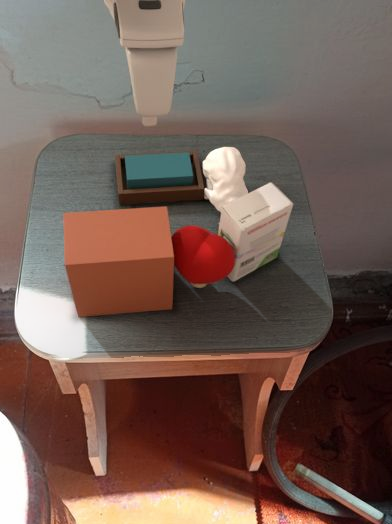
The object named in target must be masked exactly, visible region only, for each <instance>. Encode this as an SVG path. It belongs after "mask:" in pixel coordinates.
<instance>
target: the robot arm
mask: <svg viewBox="0 0 392 524" xmlns="http://www.w3.org/2000/svg"><path fill="white" fill-rule="evenodd" d="M103 3H104V5H105V6H106V7H107V9H108V10H109V11H108V12H109V13H110V16H111V17H112V19H113V21H114V26H115V28H116V32H117V36H118V39H119V43H120V46H121V47H122V48H124V50H125V53H126V54H125V55H126V60H127V65H128V71H129V78H130V84H131V89H132V96H133V102H134V107H135V111H136V114H137V116H139V117H140V119H141V125H143V127H154V126H156V125H157V124H158V117H165V116H167V115H169V113H170V111H171V108H172V103H173V95H174V88H175V80H176V73H177V72H176V71H177V59H178V47H182V46H183V45H184V40H185V16H184V15H185V14H184V11H185V4H186V0H103Z"/></svg>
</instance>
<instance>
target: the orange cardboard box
mask: <svg viewBox="0 0 392 524" xmlns="http://www.w3.org/2000/svg"><path fill="white" fill-rule="evenodd" d="M168 210H169V209H168V206H151V207H137V208H135V207H134V208H122V209H121V208H120V209H105V210H103V209H102V210H89V211H74V212H73V211H72V212H63V213H62V219H63V220H62V221H63V222H62V223H63V250H64V251H63V252H64V253H63V255H64V269H65V271H66V275H67V279H68V284H69V286H70V287H69V288H70V292H71V295H72V298H73V299H72V300H73V303H74V306H75V310H76V314H77V317H78V318H81V317H92V316H105V315H118V314H129V313H130V314H131V313H140V312H141V313H142V312H153V311H164V310H167V311H168V310H173V305H174V303H173V301H174V276H175V275H174V273H175V272H174V271H175V266H174V253H173V246H172V238H171V237H172V233H171V232H172V231H171V226H170V225H171V223H170V218H169V211H168Z"/></svg>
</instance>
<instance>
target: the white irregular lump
mask: <svg viewBox="0 0 392 524" xmlns="http://www.w3.org/2000/svg"><path fill="white" fill-rule="evenodd" d="M246 168H247V167H246V162H245V161H244V159H243V157H242V154H241V152H240V150H239V149H237V148H236V147H232V146H222V147H218V148H216V149H213V150H211V151H210V152H208V154H207V156H206V157H205V159H204V160H203V161H202V174H203V175H204V177H205V179H206V187H204V198H203V199H204V200H209V202H210V203H211V204H212V205H213V206H214V208H215V209H216V210H217V211H218V212H219V213H221V210H222V206H224V205H226V204H228V203H230V202H232V201H234V200H236V199H238V198H240V197H242V196H244V195H246V194H248V193H249V191H248V188H247V186H246V183H245V180H244V177H245V174H246ZM217 224H218V225H219V224H220V222H217Z"/></svg>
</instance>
